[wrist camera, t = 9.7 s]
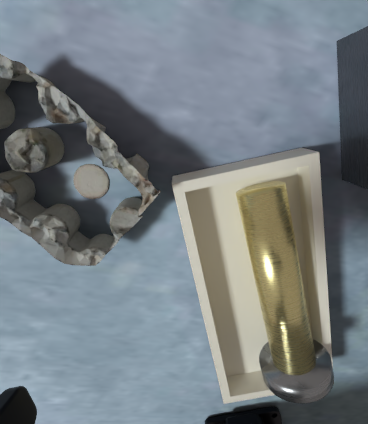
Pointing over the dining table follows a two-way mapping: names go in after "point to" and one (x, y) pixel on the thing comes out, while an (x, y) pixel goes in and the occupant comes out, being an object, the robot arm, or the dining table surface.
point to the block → (354, 106)
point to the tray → (240, 260)
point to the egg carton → (83, 178)
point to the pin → (282, 297)
